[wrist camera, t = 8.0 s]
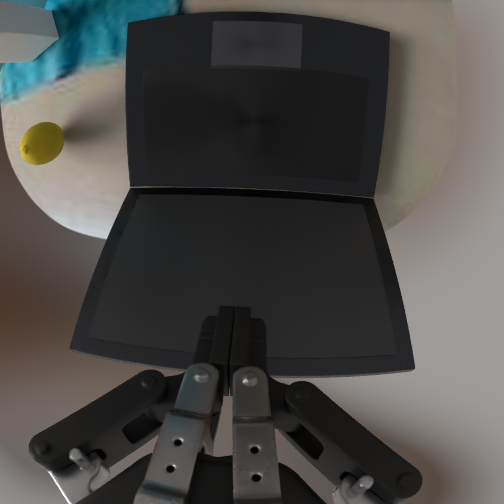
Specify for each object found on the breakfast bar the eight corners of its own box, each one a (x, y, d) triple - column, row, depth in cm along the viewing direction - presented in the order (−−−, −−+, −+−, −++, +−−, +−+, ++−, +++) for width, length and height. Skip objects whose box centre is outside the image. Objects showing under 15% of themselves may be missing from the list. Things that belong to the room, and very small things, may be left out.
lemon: (81, 134, 33) (45, 146, 26) (61, 164, 35) (27, 181, 28) (58, 110, 31) (21, 118, 24) (40, 140, 33) (4, 153, 26)
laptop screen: (68, 348, 22) (72, 352, 22) (416, 368, 21) (411, 371, 22) (130, 186, 34) (131, 192, 35) (373, 197, 34) (371, 202, 35)
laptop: (133, 25, 26) (127, 22, 24) (384, 34, 26) (390, 31, 24) (135, 182, 36) (129, 187, 34) (369, 193, 36) (374, 197, 34)
